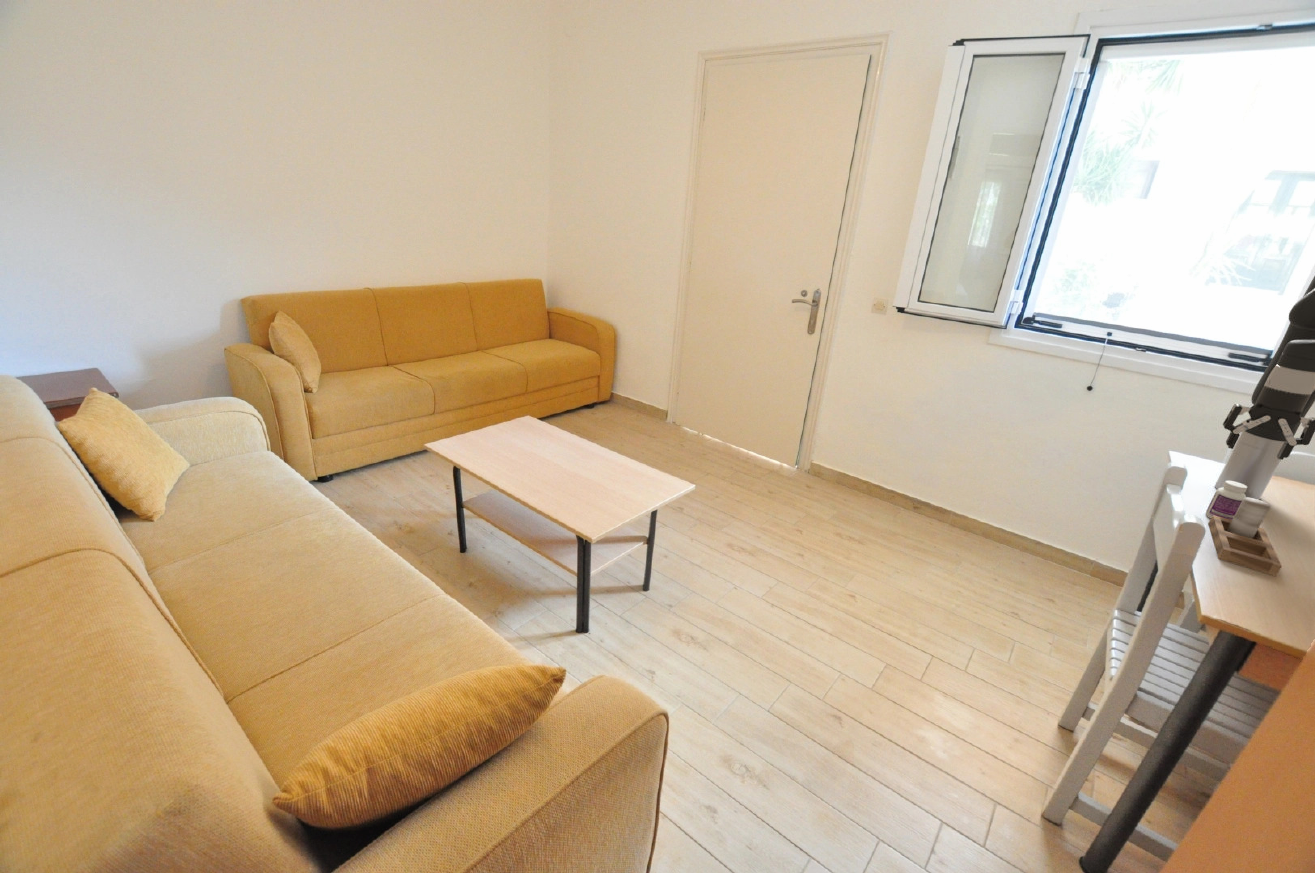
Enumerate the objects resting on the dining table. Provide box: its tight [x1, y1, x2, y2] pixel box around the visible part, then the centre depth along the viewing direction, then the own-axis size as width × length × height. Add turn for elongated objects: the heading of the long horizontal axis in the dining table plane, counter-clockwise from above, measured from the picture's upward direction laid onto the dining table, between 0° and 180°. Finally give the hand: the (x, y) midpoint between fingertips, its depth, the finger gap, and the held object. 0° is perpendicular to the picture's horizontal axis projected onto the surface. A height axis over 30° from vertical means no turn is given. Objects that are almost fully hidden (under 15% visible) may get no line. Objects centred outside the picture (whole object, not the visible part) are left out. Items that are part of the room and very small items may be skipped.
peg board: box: [1207, 497, 1283, 577], centre depth 125 cm, size 20×9×10 cm, turn 142°
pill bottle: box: [1205, 481, 1247, 520], centre depth 138 cm, size 5×5×10 cm
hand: (1254, 452), depth 133 cm, fingers open, 8 cm apart
